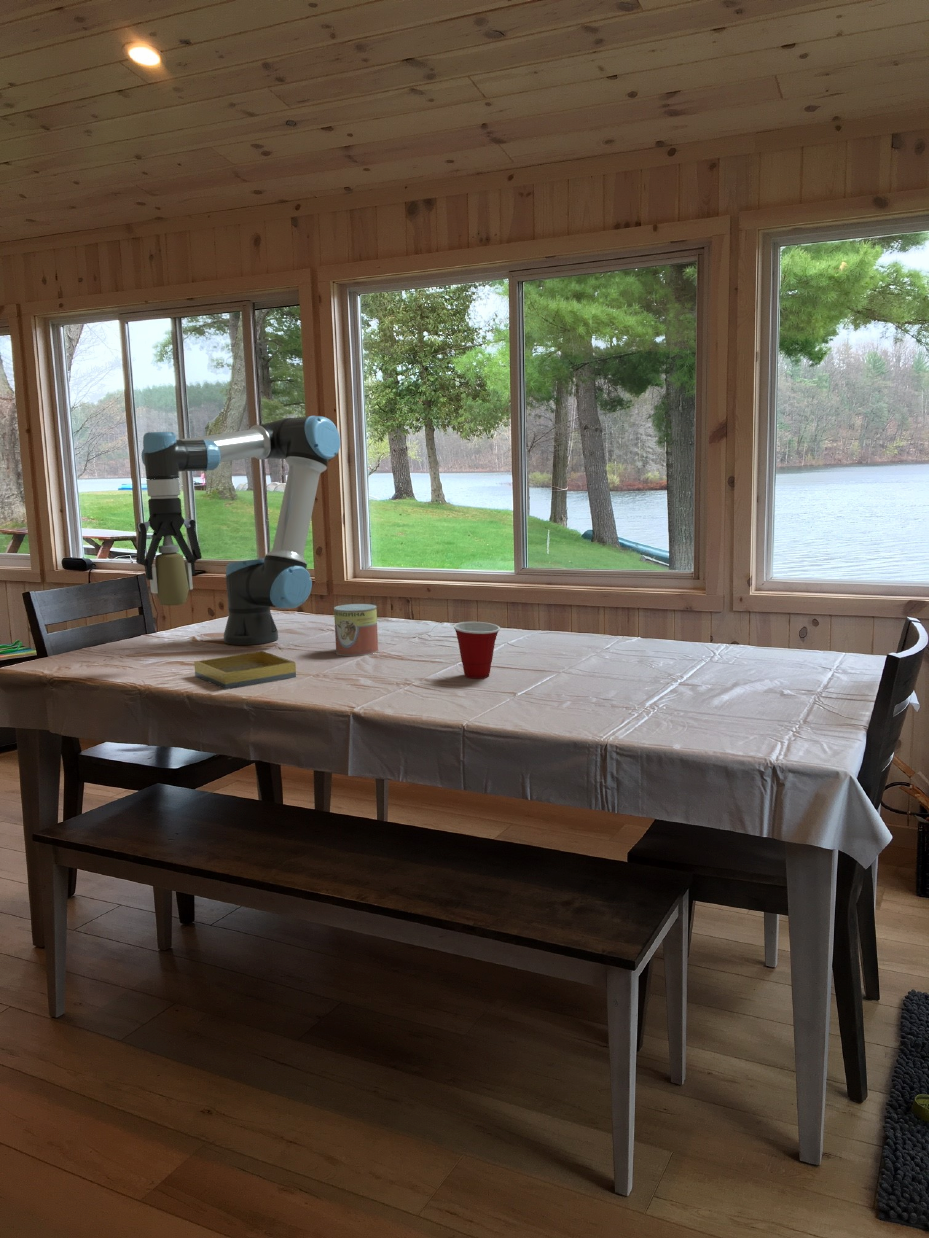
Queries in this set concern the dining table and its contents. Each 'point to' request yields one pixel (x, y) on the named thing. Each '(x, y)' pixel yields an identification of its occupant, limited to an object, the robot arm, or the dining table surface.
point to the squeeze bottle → (171, 574)
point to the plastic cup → (476, 647)
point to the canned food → (356, 629)
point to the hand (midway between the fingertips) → (172, 590)
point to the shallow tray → (244, 669)
